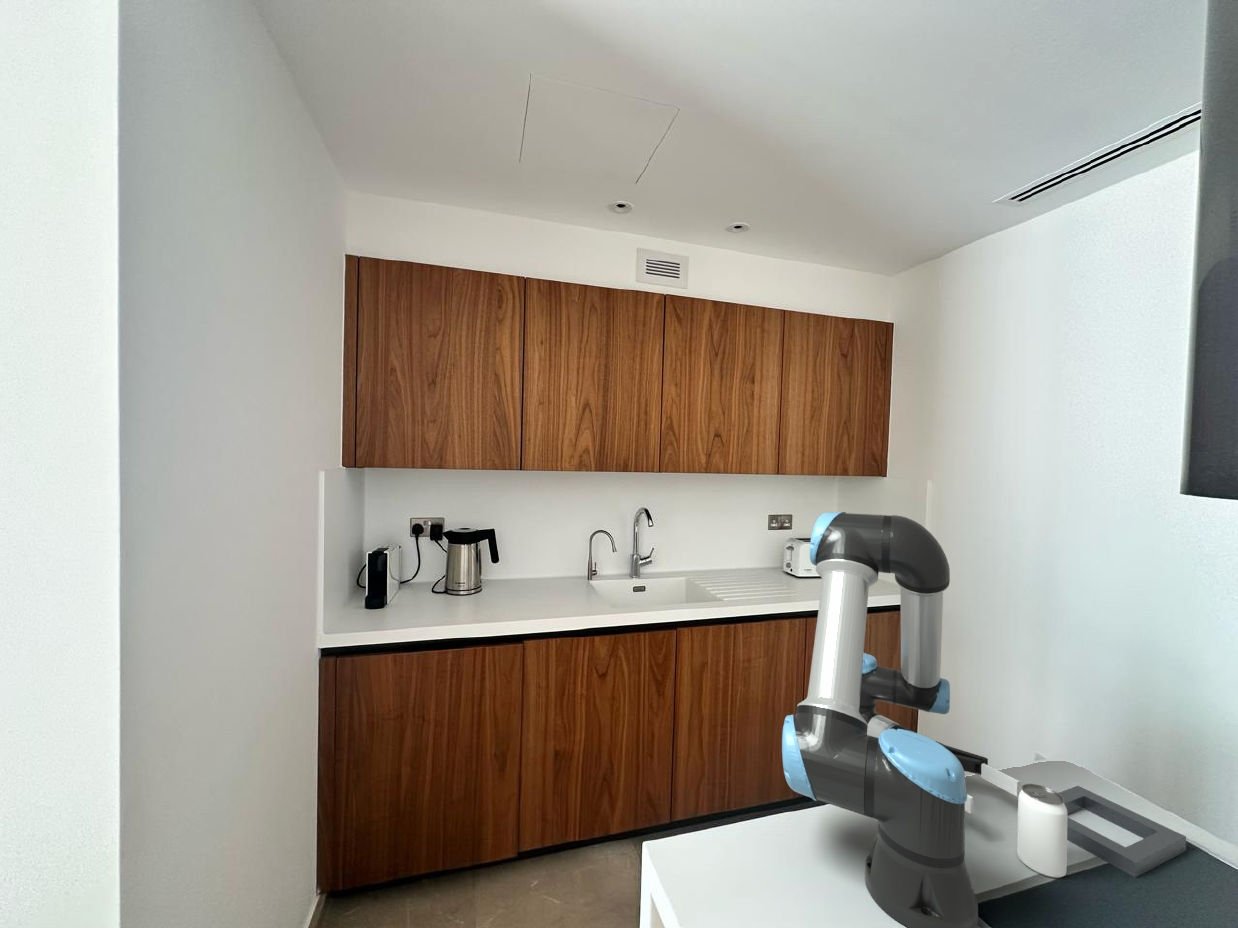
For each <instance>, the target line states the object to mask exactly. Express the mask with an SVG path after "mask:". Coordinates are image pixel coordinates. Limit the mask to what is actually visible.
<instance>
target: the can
mask: <svg viewBox="0 0 1238 928" xmlns="http://www.w3.org/2000/svg"><path fill="white" fill-rule="evenodd" d="M1058 793H1059V792H1057V791H1055V790H1053V789H1051V788H1049V787H1046V786H1044V785H1041V784H1035V783H1024V784H1022V785H1021V790H1020V791H1019V796H1018V799H1017V801H1018V802H1017V804H1018V805H1017V856H1018V858H1019V859H1020V861H1021V862H1022V864H1023V865H1025V867H1027V868H1028V869H1030V870H1031V871H1033V872H1034V873H1037V874H1039V875H1041V876H1044V877H1048V878H1052V879H1060V878H1062V877H1064V876H1067V875H1066V874H1067V864H1068V862H1067V861H1068V860H1067V858H1068V853H1067V852H1068V840H1067V817H1068V815H1067V809H1066V806H1065V804H1064V798H1063V797H1062V796H1061V795H1060V794H1058Z"/></svg>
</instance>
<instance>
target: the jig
mask: <svg viewBox="0 0 1238 928" xmlns="http://www.w3.org/2000/svg"><path fill="white" fill-rule="evenodd" d="M1057 793H1058V794H1060V795H1061V796H1062V797H1063V798H1064V804H1065V806H1066V809H1067V841H1069V842H1071V843H1072V844H1074V845H1075V846H1078V847H1079V848H1081V849H1083V850H1085V851H1087V852H1088V853H1090V854H1092V855H1094V856H1095V857H1097V858H1099V859H1101V860H1102V861H1104V862H1106V863H1107V864H1109V865H1112V866H1113V867H1115V868H1117V869H1119V870H1121V871H1122V872H1124V873H1126V874H1128V875H1129V876H1131V877H1132V878H1137V877H1140V876H1141V875H1143V874H1146V872H1148V871H1151V870H1153V869H1154V868H1156V867H1158V866H1161V865H1162V864H1163V863H1166V862H1167V861H1169V860H1171V859H1173V858H1175V857H1177V856H1179V855H1181V854H1183V853H1185V852H1186V851H1187V836H1186V835H1184V834H1183V833H1182V834H1181V833H1180V832H1178V831H1175V830H1173V829H1171V828H1169V827H1167V826H1165V825H1163V824H1160V823H1158V822H1156V821H1154V820H1152V819H1150V818H1147V816H1146V817H1145V816H1143V815H1142V814H1140V813H1136V812H1134V811H1132V810H1131V809H1128V808H1126V807H1125V806H1122V805H1120V804H1118V803H1116V802H1114V801H1112V800H1110V799H1107V798H1105V797H1103V796H1101V795H1098V794H1097V793H1095V792H1093V791H1090V790H1088V789H1086V788H1085V787H1082V786H1079V785H1076V786H1073V787H1070V788H1067V789H1065V790H1062V791H1059V792H1057ZM1081 810H1086V811H1088V812H1091V813H1092V814H1094V815H1096V816H1099V817H1100V818H1102V819H1104V820H1106V821H1109V822H1110V823H1112V824H1114V825H1116V826H1119V827H1121V828H1122V829H1125V830H1126V831H1128V832H1130V833H1132V834H1135V835H1136V836H1137V837H1140V838H1142V839H1140V840H1138V841H1136V842H1134V843H1133V844H1130V845H1128V846H1124V845H1122V844H1120V843H1118V842H1116V841H1114V840H1112V839H1110V838H1108V837H1106V836H1105V835H1103V834H1101V833H1099V832H1097V831H1095V830H1093V829H1092V828H1089V827H1087V826H1086V825H1083V823H1082V824H1081V823H1080V822H1078V821H1076V820H1074V819H1073V818H1070V817H1068V816H1070V815H1072V814H1074V813H1076V812H1079V811H1081Z"/></svg>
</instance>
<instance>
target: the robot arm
mask: <svg viewBox="0 0 1238 928" xmlns="http://www.w3.org/2000/svg"><path fill="white" fill-rule="evenodd" d="M809 542H810V545H809V546H810V547H809V560H810V563H811V564H812V565H814V566H816V567H815V571H816V574H817V575H818V576H819V577H820V578H821V579H822V580H821V581H822V582H821V588H820V595H819V604H818V612H817V621H816V626H815V627H816V628H815V634H814V643H813V650H812V658H811V666H810V673H809V674H810V675H809V683H808V689H807V696H806V698H805V699H804V700H802V701H801V702H799V703H798V704H797V705H796V711H795V715H794V714H790V715H788V714H787V715H786V716H785V718H784V722H783V727H782V733H781V734H782V736H781V737H782V738H781V754H782V757H781V758H782V767H783V774H784V777H785V781H786V783H787V784H788V787H789V788H790V789H791V790H792V791H793V792H795V793H797V794H800V795H803V796H805V797H808V798H811V799H812V800H813V801H816V802H818V801H819V802H823V803H825V804H829V805H831V806H835V807H837V808H840V809H844V810H847V811H850V812H853V813H857V814H858V815H863V816H865V817H869V818H872V819H875V820H878V821H877V833H876V835H875V837H874V841H873V842H872V845H871V846H870V849H869V851H868V854H867V856H866V860H865V865H864V883H865V886H866V889H867V891H868V893H869V895H870V897H871V899H873V901H874V902H875V903H876V904H877V906H878V907H880V909H881V910H883V911H884V912H885V913H886V914H887V915H889V916H890V917H891V918H893V919H894V920H895V921H897V922H898V923H900V924H902V925H903V926H906V927H907V928H977V926H978V923H979V922H978V921H979V919H978V917H979V906H978V905H979V904H978V900H977V896H976V894H975V892H974V889H973V885H972V882H971V878H970V875H969V872H968V867H967V865H966V862H965V846H966V844H965V843H966V841H965V840H966V839H965V838H966V837H965V836H966V835H965V834H966V832H965V829H966V821H965V819H966V813H969V814H970V815H971V814H974V797H973V796H971V795H969V794H968V793H967V790H966V773H965V772H968V773H971V774H976V775H980V778H981V779H982V780H985V781H987V782H989V783H991V784H993V785H994V786H996V787H998V788H1000V789H1002V790H1004V791H1006V792H1007V793H1009V794H1011V795H1013V796H1015V797H1019V793H1020V785H1021V784H1020V783H1021V782H1020V780H1019V779H1016V778H1014V777H1012V776H1010V775H1008V774H1007V773H1004V772H1002V771H1000V770H998V769H996V768H994V767H992V766H990V765H989V758H987V757H985V756H982V755H978V754H975V753H972V752H969V751H965V750H962V749H959V748H955V747H952V746H949V745H945V744H944V743H941V742H939V741H936V740H933V739H931V738H929V737H928V736H926V735H923V734H920V733H917V732H915V731H914V730H911V729H909V728H908V727H905V726H903V725H901V724H899V723H897V722H896V721H893V720H892V719H889V718H888V717H886V716H883V715H882V714H879V713H878V712H876V707H877V701H880V702H883V703H884V702H885V703H888V704H893V705H898V706H902V707H906V708H910V709H913V710H919V711H923V712H925V713H934V714H939V715H947V714H948V713H950V706H951V705H950V703H951V702H950V700H951V695H950V694H951V684H950V681H949V680H948V679H947V678H946V679H945V678H942V677H941V667H942V666H941V664H942V662H941V660H942V637H943V636H942V634H943V633H942V630H943V604H944V592H945V591H947V589H948V588H949V587H950V583H951V582H950V581H951V579H950V578H951V574H950V573H951V571H950V570H951V569H950V565H949V562H948V558H947V556H946V553H945V551H944V549H943V548H942V545H941V544H940V543H939V541H938V540H937V538H936V537H934V535H933V534H932V533H931V532H930V531H929V529H927V528H926V527H924V526H923V525H922V524H920V523H919V522H917V521H916V520H913V519H912V518H908V517H906V516H902V515H897V514H896V515H895V514H893V515H889V514H888V515H885V514H871V513H870V514H869V513H849V512H846V511H838V512H828V511H827V512H824V513H822V514H820V515H819V517H817V520H816V521H815V524H814V526H813V529H812V532H811V537H810V541H809ZM879 573H883V574H894V580H895V582H896V583H897V585H898V586H899V588H900V670H899V669H894V668H889V667H886V666H885V667H884V666H878V661H877V659H876V657H875V656H874V655H871V654H868V653H867V652H865V651H864V650H865V639H866V626H867V614H868V602H869V601H868V600H869V589H870V587H871V586H873V585H875V584H876V583H877V582H878V580H879Z"/></svg>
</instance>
